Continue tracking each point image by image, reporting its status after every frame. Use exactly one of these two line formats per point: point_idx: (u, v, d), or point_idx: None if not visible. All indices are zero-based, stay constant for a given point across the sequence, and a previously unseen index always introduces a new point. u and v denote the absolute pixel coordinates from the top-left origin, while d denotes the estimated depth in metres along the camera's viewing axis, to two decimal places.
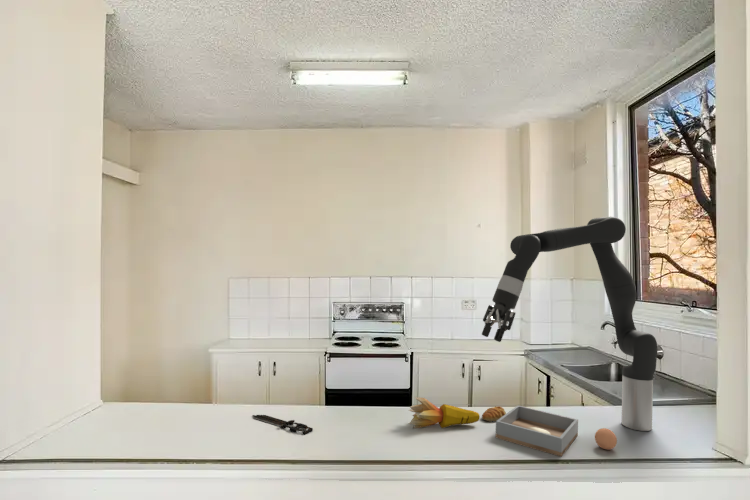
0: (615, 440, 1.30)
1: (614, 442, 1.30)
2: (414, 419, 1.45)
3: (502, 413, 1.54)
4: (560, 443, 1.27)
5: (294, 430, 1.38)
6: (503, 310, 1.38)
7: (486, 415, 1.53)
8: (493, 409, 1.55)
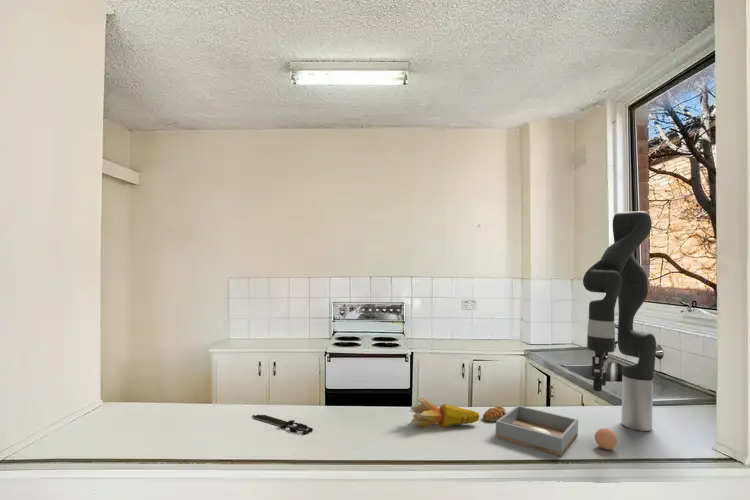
0: (615, 440, 1.30)
1: (614, 442, 1.30)
2: (414, 419, 1.44)
3: (503, 413, 1.54)
4: (560, 443, 1.27)
5: (294, 430, 1.38)
6: (594, 357, 1.31)
7: (487, 415, 1.52)
8: (494, 409, 1.55)
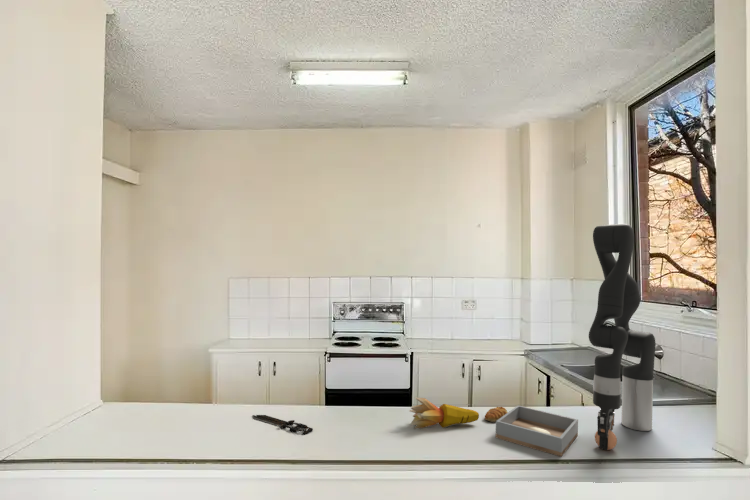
0: (615, 440, 1.30)
1: (614, 442, 1.30)
2: (415, 420, 1.44)
3: (505, 413, 1.54)
4: (560, 443, 1.27)
5: (294, 430, 1.38)
6: (600, 413, 1.31)
7: (489, 416, 1.52)
8: (495, 409, 1.55)
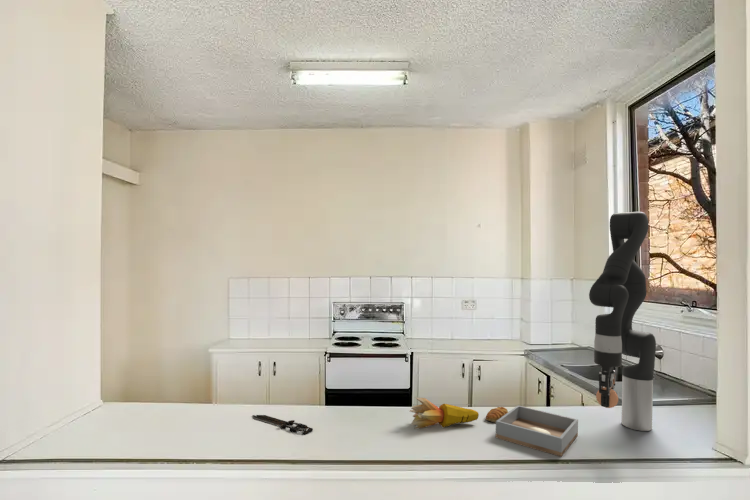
0: (616, 398, 1.31)
1: (616, 400, 1.30)
2: (415, 420, 1.44)
3: (506, 413, 1.54)
4: (560, 443, 1.27)
5: (294, 430, 1.38)
6: None
7: (490, 416, 1.52)
8: (497, 410, 1.55)
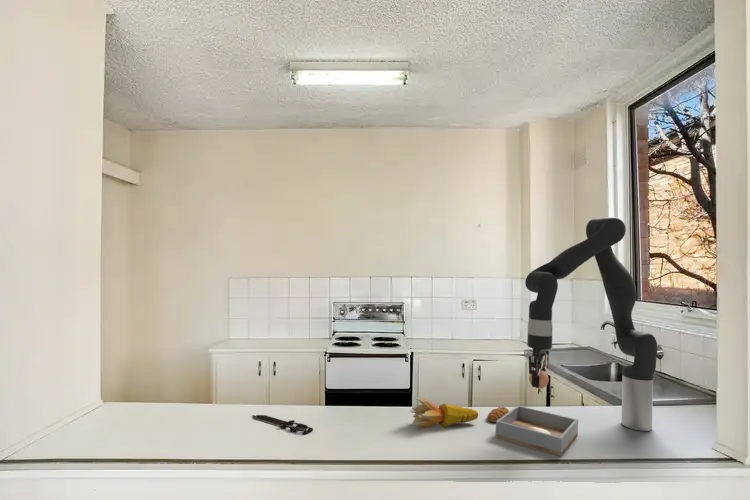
0: (546, 379, 1.38)
1: (545, 381, 1.38)
2: (416, 420, 1.44)
3: None
4: (560, 443, 1.27)
5: (294, 430, 1.38)
6: None
7: (492, 416, 1.52)
8: (498, 410, 1.54)
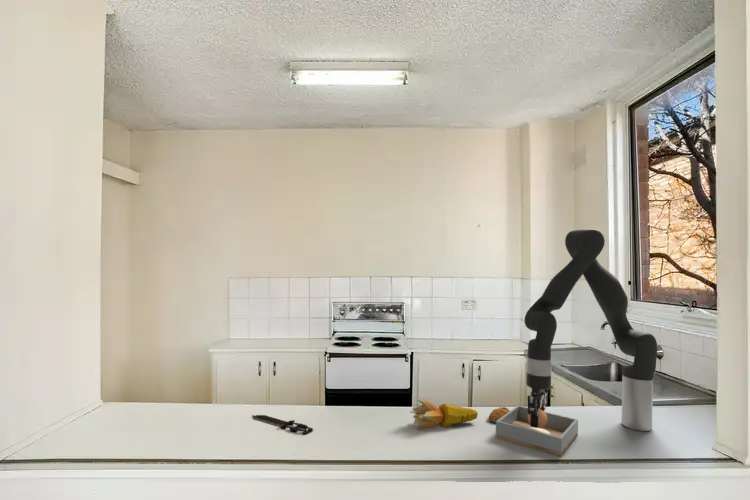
0: (545, 419, 1.38)
1: (544, 420, 1.38)
2: (417, 420, 1.44)
3: None
4: (560, 443, 1.27)
5: (294, 430, 1.38)
6: None
7: (493, 417, 1.51)
8: (499, 410, 1.54)
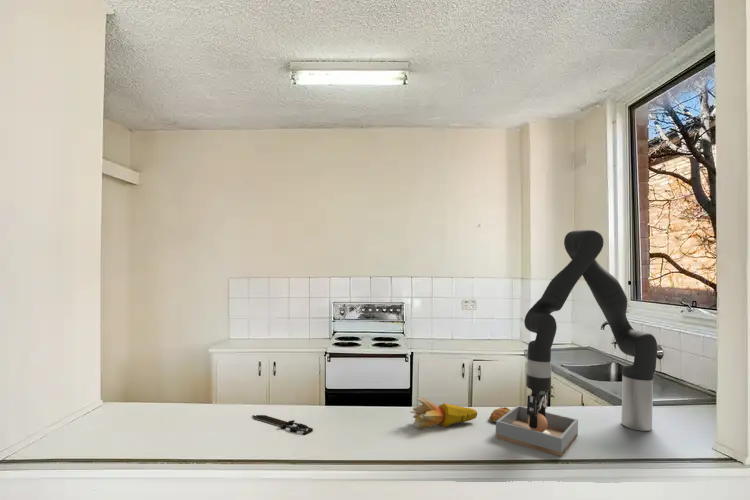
0: (545, 424, 1.38)
1: (544, 425, 1.38)
2: (417, 420, 1.43)
3: None
4: (560, 443, 1.27)
5: (294, 430, 1.38)
6: None
7: (494, 417, 1.51)
8: (500, 410, 1.54)
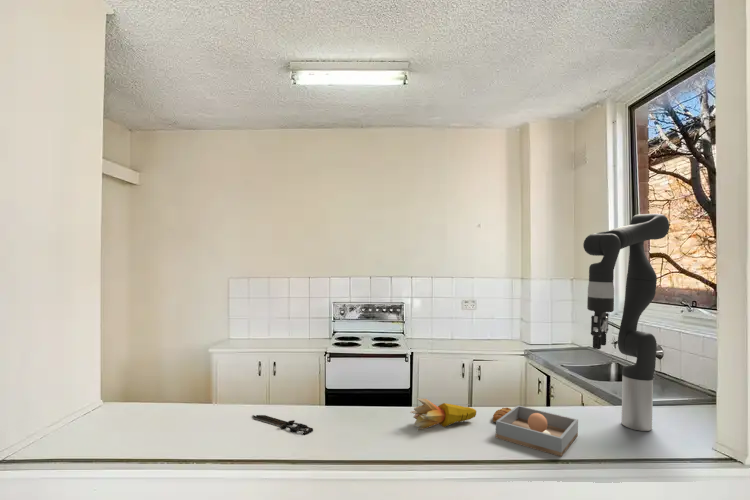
0: (545, 424, 1.38)
1: (544, 425, 1.38)
2: (418, 421, 1.43)
3: None
4: (560, 443, 1.27)
5: (294, 430, 1.38)
6: None
7: (498, 417, 1.51)
8: (503, 411, 1.54)
